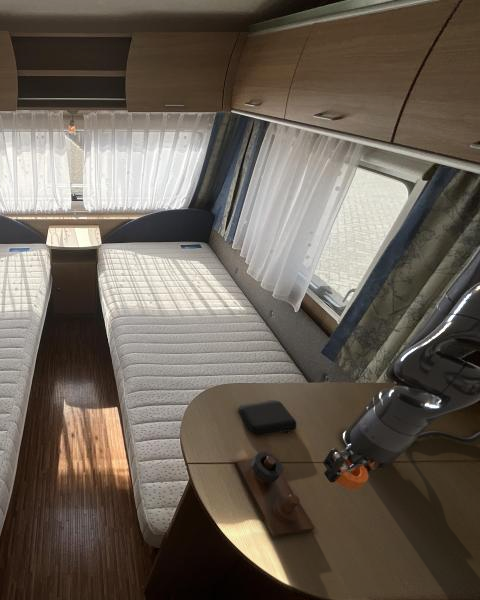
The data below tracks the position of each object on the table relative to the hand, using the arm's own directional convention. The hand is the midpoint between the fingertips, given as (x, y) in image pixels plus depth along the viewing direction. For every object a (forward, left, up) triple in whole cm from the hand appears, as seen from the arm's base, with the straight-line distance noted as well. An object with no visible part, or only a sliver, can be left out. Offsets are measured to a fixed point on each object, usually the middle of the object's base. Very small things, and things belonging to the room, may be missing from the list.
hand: (342, 475), depth 74 cm
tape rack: (+10, -4, -14) cm, 17 cm away
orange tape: (0, 0, +1) cm, 1 cm away
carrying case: (-1, -23, -14) cm, 27 cm away
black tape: (+10, -8, -10) cm, 16 cm away
